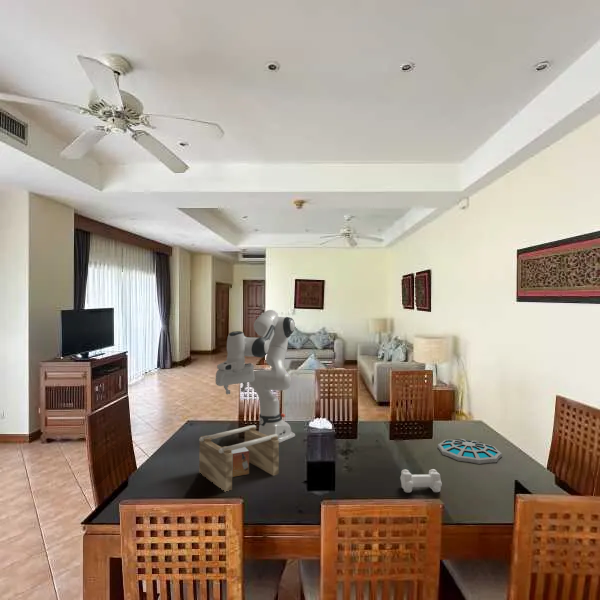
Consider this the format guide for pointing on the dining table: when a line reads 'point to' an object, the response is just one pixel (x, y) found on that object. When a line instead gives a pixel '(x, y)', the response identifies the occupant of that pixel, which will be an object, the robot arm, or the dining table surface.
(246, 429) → the pale rod
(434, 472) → the dog bone
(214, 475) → the rack
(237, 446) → the off-white rod
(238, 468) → the small box
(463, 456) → the decorative platform
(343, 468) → the dining table surface
